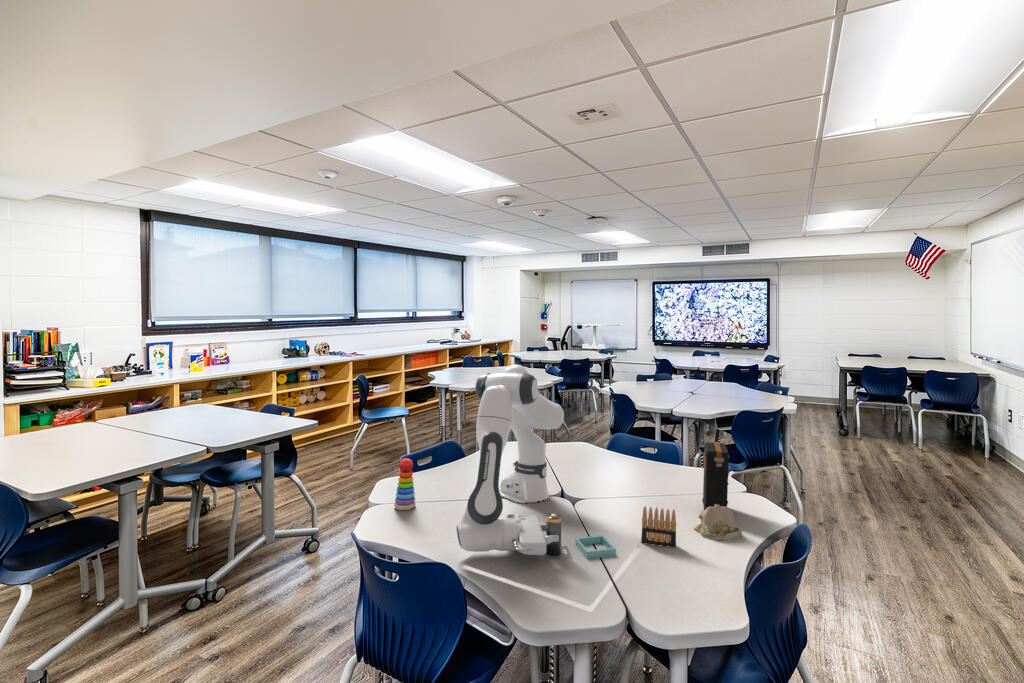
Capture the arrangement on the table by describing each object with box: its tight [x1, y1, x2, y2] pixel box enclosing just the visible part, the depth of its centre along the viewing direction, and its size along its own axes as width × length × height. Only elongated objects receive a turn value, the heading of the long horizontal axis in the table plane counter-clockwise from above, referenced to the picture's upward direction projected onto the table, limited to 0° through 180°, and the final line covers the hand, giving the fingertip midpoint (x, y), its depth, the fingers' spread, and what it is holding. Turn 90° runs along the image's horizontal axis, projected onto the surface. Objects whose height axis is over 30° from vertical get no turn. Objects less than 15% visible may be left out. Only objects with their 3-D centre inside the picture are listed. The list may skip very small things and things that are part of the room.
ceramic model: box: [693, 504, 743, 541], centre depth 164 cm, size 14×11×10 cm
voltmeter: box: [701, 441, 730, 511], centre depth 182 cm, size 16×9×25 cm, turn 161°
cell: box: [545, 513, 563, 556], centre depth 147 cm, size 5×5×12 cm
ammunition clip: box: [640, 505, 677, 548], centre depth 156 cm, size 11×2×12 cm, turn 73°
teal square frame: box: [574, 534, 617, 560], centre depth 149 cm, size 9×9×3 cm
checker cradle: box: [537, 545, 573, 561], centre depth 148 cm, size 10×8×1 cm
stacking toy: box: [393, 457, 417, 511], centre depth 185 cm, size 8×8×19 cm
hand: (556, 532), depth 147 cm, fingers closed on cell, 5 cm apart
